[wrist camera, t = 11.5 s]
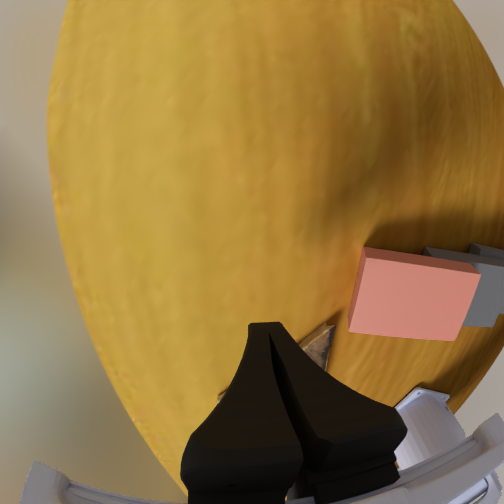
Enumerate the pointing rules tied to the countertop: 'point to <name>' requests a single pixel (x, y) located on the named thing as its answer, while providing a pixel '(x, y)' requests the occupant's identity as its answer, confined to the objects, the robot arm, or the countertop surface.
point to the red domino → (411, 295)
